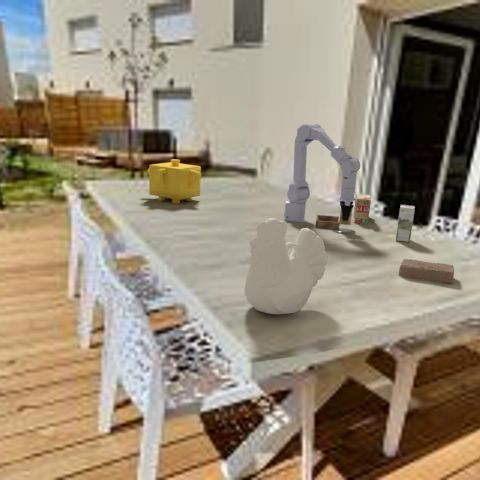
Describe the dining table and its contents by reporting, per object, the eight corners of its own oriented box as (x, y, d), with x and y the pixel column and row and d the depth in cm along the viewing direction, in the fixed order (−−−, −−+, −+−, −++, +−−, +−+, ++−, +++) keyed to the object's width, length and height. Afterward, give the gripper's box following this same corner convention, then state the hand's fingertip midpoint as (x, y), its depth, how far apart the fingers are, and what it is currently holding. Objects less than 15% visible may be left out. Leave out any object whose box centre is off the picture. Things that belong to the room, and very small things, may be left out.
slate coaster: (331, 234, 215) (331, 232, 215) (331, 228, 225) (331, 227, 225) (356, 236, 214) (356, 235, 214) (354, 230, 223) (354, 229, 223)
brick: (398, 276, 167) (400, 263, 165) (400, 269, 174) (402, 256, 173) (452, 286, 161) (454, 272, 160) (452, 278, 169) (454, 264, 167)
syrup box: (410, 239, 213) (415, 205, 209) (409, 243, 207) (414, 208, 204) (396, 237, 215) (400, 204, 211) (395, 241, 209) (400, 206, 205)
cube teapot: (217, 200, 274) (219, 160, 268) (182, 208, 250) (183, 165, 244) (167, 191, 292) (167, 154, 286) (130, 198, 267) (129, 157, 262)
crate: (315, 228, 224) (316, 220, 223) (316, 222, 236) (316, 214, 235) (338, 230, 222) (339, 222, 221) (338, 223, 234) (338, 216, 233)
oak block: (339, 224, 216) (341, 209, 215) (339, 221, 221) (340, 206, 219) (350, 225, 216) (352, 209, 214) (349, 222, 220) (351, 207, 218)
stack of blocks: (353, 214, 255) (356, 190, 252) (366, 216, 254) (369, 191, 251) (354, 224, 235) (357, 198, 232) (368, 225, 234) (371, 199, 231)
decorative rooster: (255, 326, 125) (261, 227, 118) (233, 301, 139) (237, 212, 132) (343, 315, 134) (354, 223, 127) (314, 293, 148) (322, 209, 141)
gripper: (359, 191, 207) (355, 223, 210) (357, 185, 220) (353, 216, 224) (341, 189, 208) (338, 222, 211) (340, 184, 221) (337, 214, 225)
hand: (344, 219), depth 218 cm, fingers closed on oak block, 4 cm apart
